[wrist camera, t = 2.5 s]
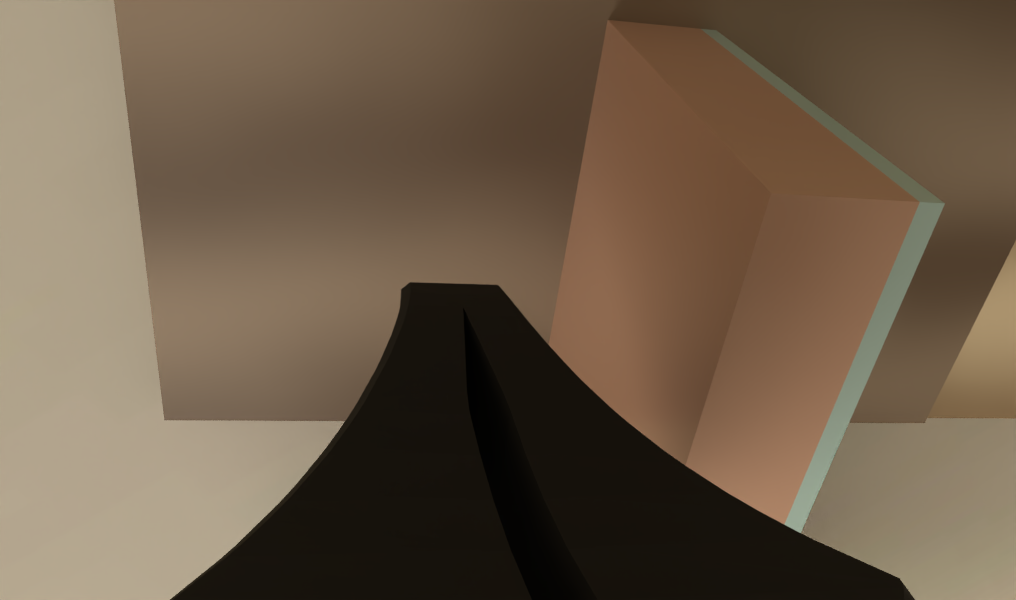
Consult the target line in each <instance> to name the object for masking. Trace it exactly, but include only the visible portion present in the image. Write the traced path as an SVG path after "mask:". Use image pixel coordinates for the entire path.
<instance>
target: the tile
mask: <svg viewBox="0 0 1016 600" xmlns="http://www.w3.org/2000/svg"><path fill="white" fill-rule="evenodd" d="M944 205H945V203H944V202H942V201H941V200H940V199H938V198H937V197H936V196H934V195H933V194H932V193H931V192H929V191H928V190H927V189H925V188H924V187H923V186H921V185H920V184H919V183H917V182H916V181H915V180H913V179H912V178H911V177H909V176H908V175H907V174H905V173H904V172H903V171H901V170H900V169H899V168H898V167H896V166H895V165H894V164H892V163H891V162H890V161H888V160H887V159H886V158H884V157H883V156H882V155H880V154H879V153H878V152H876V151H875V150H874V149H872V148H871V147H870V146H868V145H867V144H866V143H865V142H863V141H862V140H861V139H859V138H858V137H857V136H855V135H854V134H853V133H851V132H850V131H849V130H847V129H846V128H845V127H843V126H842V125H841V124H839V123H838V122H837V121H835V120H834V119H833V118H832V117H830V116H829V115H828V114H826V113H825V112H824V111H822V110H821V109H820V108H818V107H817V106H816V105H814V104H813V103H812V102H810V101H809V100H808V99H806V98H805V97H804V96H802V95H801V94H800V93H799V92H797V91H796V90H795V89H793V88H792V87H791V86H789V85H788V84H787V83H785V82H784V81H783V80H781V79H780V78H779V77H777V76H776V75H775V74H773V73H772V72H771V71H769V70H768V69H767V68H766V67H764V66H763V65H762V64H760V63H759V62H758V61H756V60H755V59H754V58H752V57H751V56H750V55H748V54H747V53H746V52H744V51H743V50H742V49H740V48H739V47H738V46H737V45H735V44H734V43H733V42H731V41H730V40H729V39H727V38H726V37H725V36H723V35H722V34H721V33H719V32H718V31H717V30H708V29H698V28H687V27H677V26H666V25H656V24H645V23H635V22H624V21H614V20H608V21H607V26H606V32H605V37H604V43H603V48H602V54H601V59H600V65H599V70H598V76H597V81H596V87H595V92H594V98H593V103H592V109H591V114H590V120H589V125H588V131H587V137H586V142H585V148H584V153H583V159H582V164H581V170H580V175H579V181H578V186H577V192H576V197H575V203H574V208H573V214H572V219H571V225H570V230H569V236H568V241H567V247H566V252H565V258H564V263H563V269H562V274H561V280H560V285H559V291H558V296H557V302H556V307H555V313H554V318H553V324H552V329H551V335H550V340H549V346H550V347H551V348H552V349H553V350H554V351H555V352H556V353H557V355H558V356H559V357H560V358H561V359H562V360H563V361H564V362H565V363H566V364H567V365H568V366H569V368H570V369H571V370H572V371H573V372H574V373H575V374H576V375H577V376H578V377H579V378H580V379H581V380H582V381H583V382H584V383H585V384H586V385H587V386H588V387H589V388H590V389H592V390H593V391H594V392H595V393H596V394H597V395H598V396H599V397H600V398H601V399H602V400H603V401H604V402H605V403H606V404H608V405H609V406H610V407H611V408H612V409H613V410H614V411H615V412H617V413H618V414H619V415H620V416H621V417H622V418H624V419H625V420H626V421H627V422H628V423H630V424H631V425H632V426H633V427H635V428H636V429H637V430H638V431H640V432H641V433H642V434H644V435H645V436H646V437H647V438H649V439H650V440H651V441H653V442H654V443H655V444H656V445H658V446H659V447H660V448H661V449H663V450H664V451H666V452H667V453H668V454H670V455H671V456H673V457H674V458H675V459H677V460H678V461H680V462H681V463H682V464H684V465H685V466H687V467H688V468H690V469H691V470H693V471H695V472H696V473H698V474H699V475H701V476H702V477H704V478H705V479H707V480H708V481H710V482H712V483H713V484H715V485H716V486H718V487H719V488H721V489H722V490H724V491H725V492H727V493H729V494H730V495H732V496H734V497H736V498H737V499H739V500H741V501H742V502H744V503H746V504H748V505H749V506H751V507H753V508H754V509H756V510H758V511H760V512H762V513H764V514H765V515H767V516H769V517H771V518H773V519H775V520H777V521H779V522H780V523H782V524H784V525H786V526H788V527H790V528H792V529H794V530H795V531H797V532H799V533H801V531H802V529H803V527H804V524H805V522H806V520H807V518H808V515H809V513H810V511H811V508H812V506H813V504H814V502H815V499H816V497H817V495H818V492H819V490H820V488H821V486H822V483H823V481H824V479H825V476H826V474H827V472H828V470H829V467H830V465H831V463H832V460H833V458H834V456H835V454H836V451H837V449H838V447H839V444H840V442H841V440H842V438H843V435H844V433H845V431H846V428H847V426H848V424H849V422H850V419H851V417H852V415H853V413H854V410H855V408H856V406H857V403H858V401H859V399H860V397H861V394H862V392H863V390H864V387H865V385H866V383H867V381H868V378H869V376H870V374H871V371H872V369H873V367H874V365H875V362H876V360H877V358H878V355H879V353H880V351H881V349H882V346H883V344H884V342H885V339H886V337H887V335H888V333H889V330H890V328H891V326H892V323H893V321H894V319H895V317H896V314H897V312H898V310H899V307H900V305H901V303H902V301H903V298H904V296H905V294H906V292H907V289H908V287H909V285H910V282H911V280H912V278H913V276H914V273H915V271H916V269H917V266H918V264H919V262H920V260H921V257H922V255H923V253H924V250H925V248H926V246H927V244H928V241H929V239H930V237H931V234H932V232H933V230H934V228H935V225H936V223H937V221H938V218H939V216H940V214H941V212H942V209H943V207H944Z"/></svg>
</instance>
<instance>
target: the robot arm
mask: <svg viewBox="0 0 1016 600" xmlns="http://www.w3.org/2000/svg"><path fill="white" fill-rule="evenodd" d="M170 600H915V599H914V598H913V596H912V595H911V594H910V592H909V591H908V589H907V588H906V587H905V586H904V584H903V583H902V582H901V580H900V578H897V577H895V576H893V575H891V574H888V573H886V572H884V571H882V570H880V569H877V568H875V567H873V566H871V565H868V564H866V563H864V562H862V561H860V560H857V559H855V558H853V557H851V556H848V555H846V554H844V553H842V552H840V551H837V550H835V549H833V548H831V547H828V546H826V545H824V544H822V543H820V542H817V541H815V540H813V539H811V538H809V537H807V536H805V535H803V534H801V533H799V532H797V531H795V530H794V529H792V528H790V527H788V526H786V525H784V524H782V523H780V522H779V521H777V520H775V519H773V518H771V517H769V516H767V515H765V514H764V513H762V512H760V511H758V510H756V509H754V508H753V507H751V506H749V505H748V504H746V503H744V502H742V501H741V500H739V499H737V498H736V497H734V496H732V495H730V494H729V493H727V492H725V491H724V490H722V489H721V488H719V487H718V486H716V485H715V484H713V483H712V482H710V481H708V480H707V479H705V478H704V477H702V476H701V475H699V474H698V473H696V472H695V471H693V470H691V469H690V468H688V467H687V466H685V465H684V464H682V463H681V462H680V461H678V460H677V459H675V458H674V457H673V456H671V455H670V454H668V453H667V452H666V451H664V450H663V449H661V448H660V447H659V446H658V445H656V444H655V443H654V442H653V441H651V440H650V439H649V438H647V437H646V436H645V435H644V434H642V433H641V432H640V431H638V430H637V429H636V428H635V427H633V426H632V425H631V424H630V423H628V422H627V421H626V420H625V419H624V418H622V417H621V416H620V415H619V414H618V413H617V412H615V411H614V410H613V409H612V408H611V407H610V406H609V405H608V404H606V403H605V402H604V401H603V400H602V399H601V398H600V397H599V396H598V395H597V394H596V393H595V392H594V391H593V390H592V389H590V388H589V387H588V386H587V385H586V384H585V383H584V382H583V381H582V380H581V379H580V378H579V377H578V376H577V375H576V374H575V373H574V372H573V371H572V370H571V369H570V368H569V366H568V365H567V364H566V363H565V362H564V361H563V360H562V359H561V358H560V357H559V356H558V355H557V353H556V352H555V351H554V350H553V349H552V348H551V347H550V346H549V345H548V343H547V342H546V341H545V340H544V339H543V338H542V337H541V335H540V334H539V333H538V332H537V331H536V330H535V328H534V327H533V326H532V325H531V324H530V322H529V321H528V320H527V319H526V318H525V316H524V315H523V314H522V313H521V311H520V310H519V309H518V308H517V307H516V305H515V304H514V303H513V302H512V300H511V299H510V298H509V297H508V296H507V294H506V293H505V292H504V291H503V290H502V289H501V287H500V286H499V285H489V284H454V283H420V282H410V283H408V284H407V285H406V286H405V287H403V288H402V289H401V299H400V309H399V313H398V317H397V320H396V323H395V326H394V329H393V332H392V334H391V337H390V339H389V341H388V344H387V346H386V348H385V350H384V353H383V355H382V357H381V359H380V362H379V364H378V366H377V368H376V370H375V372H374V374H373V375H372V377H371V379H370V381H369V382H368V384H367V386H366V388H365V390H364V391H363V393H362V395H361V397H360V398H359V400H358V402H357V404H356V405H355V407H354V409H353V410H352V412H351V413H350V415H349V416H348V418H347V419H346V421H345V422H344V424H343V425H342V427H341V428H340V430H339V431H338V432H337V434H336V435H335V437H334V438H333V439H332V441H331V442H330V443H329V445H328V446H327V448H326V449H325V450H324V451H323V453H322V454H321V455H320V456H319V458H318V459H317V460H316V461H315V463H314V464H313V465H312V466H311V467H310V469H309V470H308V471H307V472H306V473H305V475H304V476H303V477H302V478H301V480H300V481H299V482H298V483H297V484H296V485H295V486H294V488H293V489H292V490H291V491H290V492H289V493H288V494H287V495H286V496H285V497H284V499H283V500H282V501H281V502H280V503H279V504H278V505H277V506H276V507H275V508H274V509H273V510H272V511H271V512H270V513H269V514H268V515H267V516H266V517H264V518H263V519H262V520H261V521H260V522H259V523H258V524H257V525H256V526H255V527H254V528H253V529H252V530H251V531H250V532H249V533H248V534H247V535H246V536H245V537H244V538H243V539H242V540H241V541H240V542H239V543H238V544H237V545H236V546H235V547H234V548H232V549H231V550H230V551H229V552H228V553H227V554H226V555H224V556H223V557H222V558H221V559H220V560H219V561H217V562H216V563H215V564H214V565H213V566H211V567H210V568H209V569H208V570H206V571H205V572H204V573H203V574H201V575H200V576H199V577H198V578H196V579H195V580H194V581H193V582H191V583H190V584H189V585H188V586H186V587H185V588H184V589H183V590H181V591H180V592H179V593H178V594H177V595H175V596H174V597H173V598H172V599H170Z"/></svg>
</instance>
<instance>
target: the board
mask: <svg viewBox="0 0 1016 600" xmlns="http://www.w3.org/2000/svg"><path fill="white" fill-rule="evenodd" d="M114 3H115V11H116V20H117V28H118V36H119V45H120V53H121V61H122V70H123V78H124V86H125V95H126V103H127V111H128V120H129V128H130V136H131V145H132V153H133V161H134V170H135V178H136V186H137V195H138V203H139V211H140V220H141V228H142V236H143V245H144V253H145V261H146V270H147V278H148V286H149V295H150V303H151V311H152V320H153V328H154V336H155V345H156V353H157V361H158V370H159V378H160V386H161V395H162V403H163V411H164V420H263V421H346V419H347V418H348V416H349V415H350V413H351V412H352V410H353V409H354V407H355V405H356V404H357V402H358V400H359V398H360V397H361V395H362V393H363V391H364V390H365V388H366V386H367V384H368V382H369V381H370V379H371V377H372V375H373V374H374V372H375V370H376V368H377V366H378V364H379V362H380V359H381V357H382V355H383V353H384V350H385V348H386V346H387V344H388V341H389V339H390V337H391V334H392V332H393V329H394V326H395V323H396V320H397V317H398V313H399V309H400V299H401V289H402V288H403V287H405V286H406V285H407V284H408V283H410V282H420V283H454V284H489V285H499V286H500V287H501V289H502V290H503V291H504V292H505V293H506V294H507V296H508V297H509V298H510V299H511V300H512V302H513V303H514V304H515V305H516V307H517V308H518V309H519V310H520V311H521V313H522V314H523V315H524V316H525V318H526V319H527V320H528V321H529V322H530V324H531V325H532V326H533V327H534V328H535V330H536V331H537V332H538V333H539V334H540V335H541V337H542V338H543V339H544V340H545V341H546V342H547V343H548V345H549V340H550V335H551V329H552V324H553V318H554V313H555V307H556V302H557V296H558V291H559V285H560V280H561V274H562V269H563V263H564V258H565V252H566V247H567V241H568V236H569V230H570V225H571V219H572V214H573V208H574V203H575V197H576V192H577V186H578V181H579V175H580V170H581V164H582V159H583V153H584V148H585V142H586V137H587V131H588V125H589V120H590V114H591V109H592V103H593V98H594V92H595V87H596V81H597V76H598V70H599V65H600V59H601V54H602V48H603V43H604V37H605V32H606V26H607V21H608V20H614V21H624V22H635V23H645V24H656V25H666V26H677V27H687V28H698V29H708V30H717V31H718V32H719V33H721V34H722V35H723V36H725V37H726V38H727V39H729V40H730V41H731V42H733V43H734V44H735V45H737V46H738V47H739V48H740V49H742V50H743V51H744V52H746V53H747V54H748V55H750V56H751V57H752V58H754V59H755V60H756V61H758V62H759V63H760V64H762V65H763V66H764V67H766V68H767V69H768V70H769V71H771V72H772V73H773V74H775V75H776V76H777V77H779V78H780V79H781V80H783V81H784V82H785V83H787V84H788V85H789V86H791V87H792V88H793V89H795V90H796V91H797V92H799V93H800V94H801V95H802V96H804V97H805V98H806V99H808V100H809V101H810V102H812V103H813V104H814V105H816V106H817V107H818V108H820V109H821V110H822V111H824V112H825V113H826V114H828V115H829V116H830V117H832V118H833V119H834V120H835V121H837V122H838V123H839V124H841V125H842V126H843V127H845V128H846V129H847V130H849V131H850V132H851V133H853V134H854V135H855V136H857V137H858V138H859V139H861V140H862V141H863V142H865V143H866V144H867V145H868V146H870V147H871V148H872V149H874V150H875V151H876V152H878V153H879V154H880V155H882V156H883V157H884V158H886V159H887V160H888V161H890V162H891V163H892V164H894V165H895V166H896V167H898V168H899V169H900V170H901V171H903V172H904V173H905V174H907V175H908V176H909V177H911V178H912V179H913V180H915V181H916V182H917V183H919V184H920V185H921V186H923V187H924V188H925V189H927V190H928V191H929V192H931V193H932V194H933V195H934V196H936V197H937V198H938V199H940V200H941V201H942V202H944V203H945V205H944V207H943V209H942V212H941V214H940V216H939V218H938V221H937V223H936V225H935V228H934V230H933V232H932V234H931V237H930V239H929V241H928V244H927V246H926V248H925V250H924V253H923V255H922V257H921V260H920V262H919V264H918V266H917V269H916V271H915V273H914V276H913V278H912V280H911V282H910V285H909V287H908V289H907V292H906V294H905V296H904V298H903V301H902V303H901V305H900V307H899V310H898V312H897V314H896V317H895V319H894V321H893V323H892V326H891V328H890V330H889V333H888V335H887V337H886V339H885V342H884V344H883V346H882V349H881V351H880V353H879V355H878V358H877V360H876V362H875V365H874V367H873V369H872V371H871V374H870V376H869V378H868V381H867V383H866V385H865V387H864V390H863V392H862V394H861V397H860V399H859V401H858V403H857V406H856V408H855V410H854V413H853V415H852V417H851V419H850V422H849V423H925V421H926V419H927V418H1016V0H114Z"/></svg>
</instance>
